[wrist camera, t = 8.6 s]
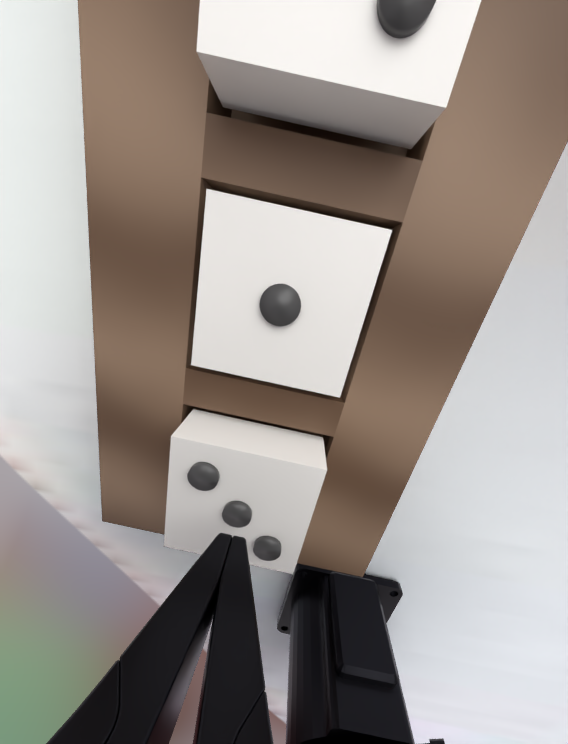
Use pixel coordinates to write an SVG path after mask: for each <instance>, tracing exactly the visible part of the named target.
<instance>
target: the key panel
mask: <svg viewBox="0 0 568 744" xmlns="http://www.w3.org/2000/svg"><path fill="white" fill-rule="evenodd" d="M199 6H200V0H78V14H79V35H80V56H81V78H82V99H83V120H84V141H85V163H86V184H87V205H88V226H89V248H90V269H91V290H92V311H93V333H94V354H95V375H96V396H97V418H98V439H99V460H100V481H101V503H102V521H104V522H109V523H113V524H118V525H123V526H127V527H132V528H136V529H141V530H146V531H150V532H155V533H160V534H164V533H165V518H166V503H167V488H168V473H169V458H170V443H171V435H172V434H173V433H174V432H175V431H176V429H177V428H178V427H179V426H180V425H181V423H182V422H183V421H184V420H185V419H186V417H187V416H188V415H189V414H190V413H191V411H192V410H193V409H196V410H200V411H205V412H209V413H214V414H218V415H223V416H228V417H232V418H237V419H241V420H246V421H251V422H255V423H260V424H264V425H269V426H274V427H278V428H283V429H287V430H292V431H297V432H301V433H306V434H310V435H315V436H320V437H323V440H324V448H325V456H326V464H327V472H326V475H325V478H324V481H323V484H322V487H321V491H320V494H319V497H318V500H317V503H316V506H315V509H314V512H313V515H312V518H311V521H310V524H309V527H308V530H307V533H306V536H305V539H304V542H303V545H302V548H301V551H300V554H299V558H298V561H297V563H299V564H304V565H309V566H313V567H318V568H323V569H327V570H332V571H337V572H341V573H346V574H351V575H355V576H360V577H363V576H364V573H365V571H366V569H367V567H368V565H369V563H370V561H371V559H372V556H373V554H374V552H375V550H376V548H377V546H378V544H379V541H380V539H381V537H382V535H383V533H384V531H385V529H386V527H387V524H388V522H389V520H390V518H391V516H392V514H393V512H394V510H395V507H396V505H397V503H398V501H399V499H400V497H401V495H402V493H403V490H404V488H405V486H406V484H407V482H408V480H409V478H410V476H411V473H412V471H413V469H414V467H415V465H416V463H417V461H418V459H419V456H420V454H421V452H422V450H423V448H424V446H425V444H426V441H427V439H428V437H429V435H430V433H431V431H432V429H433V427H434V424H435V422H436V420H437V418H438V416H439V414H440V412H441V410H442V407H443V405H444V403H445V401H446V399H447V397H448V395H449V393H450V390H451V388H452V386H453V384H454V382H455V380H456V378H457V376H458V373H459V371H460V369H461V367H462V365H463V363H464V361H465V359H466V356H467V354H468V352H469V350H470V348H471V346H472V344H473V341H474V339H475V337H476V335H477V333H478V331H479V329H480V327H481V324H482V322H483V320H484V318H485V316H486V314H487V312H488V310H489V307H490V305H491V303H492V301H493V299H494V297H495V295H496V293H497V290H498V288H499V286H500V284H501V282H502V280H503V278H504V276H505V273H506V271H507V269H508V267H509V265H510V263H511V261H512V259H513V256H514V254H515V252H516V250H517V248H518V246H519V244H520V242H521V239H522V237H523V235H524V233H525V231H526V229H527V227H528V224H529V222H530V220H531V218H532V216H533V214H534V212H535V210H536V207H537V205H538V203H539V201H540V199H541V197H542V195H543V193H544V190H545V188H546V186H547V184H548V182H549V180H550V178H551V176H552V173H553V171H554V169H555V167H556V165H557V163H558V161H559V159H560V156H561V154H562V152H563V150H564V148H565V146H566V144H567V142H568V0H481V3H480V6H479V9H478V12H477V15H476V18H475V21H474V24H473V27H472V30H471V34H470V37H469V40H468V43H467V46H466V49H465V52H464V55H463V58H462V61H461V64H460V67H459V70H458V73H457V76H456V79H455V82H454V85H453V88H452V91H451V94H450V97H449V101H448V104H447V107H446V109H445V110H444V111H443V112H442V113H441V114H440V116H439V117H438V118H437V119H436V120H435V122H434V123H433V124H432V125H431V126H430V127H429V129H428V130H427V131H426V132H425V133H424V135H423V136H422V137H421V138H420V139H419V140H418V142H417V143H416V144H415V145H414V146H413V148H412V149H407V148H403V147H398V146H394V145H389V144H385V143H380V142H376V141H372V140H367V139H363V138H358V137H354V136H349V135H345V134H340V133H336V132H331V131H327V130H322V129H318V128H314V127H309V126H305V125H300V124H296V123H291V122H287V121H282V120H278V119H273V118H269V117H265V116H260V115H256V114H251V113H247V112H242V111H238V110H233V109H229V108H224V107H223V106H222V104H221V102H220V100H219V98H218V96H217V94H216V92H215V90H214V87H213V85H212V83H211V81H210V79H209V77H208V75H207V73H206V71H205V68H204V66H203V64H202V62H201V60H200V58H199V56H198V54H197V52H196V51H197V36H198V21H199ZM207 189H210V190H214V191H219V192H223V193H228V194H232V195H237V196H241V197H246V198H250V199H255V200H259V201H264V202H268V203H273V204H277V205H282V206H286V207H291V208H295V209H300V210H304V211H309V212H313V213H318V214H322V215H327V216H331V217H336V218H340V219H345V220H349V221H354V222H358V223H363V224H367V225H372V226H376V227H381V228H385V229H390V230H392V233H391V236H390V239H389V242H388V245H387V249H386V252H385V255H384V258H383V261H382V265H381V268H380V271H379V274H378V277H377V281H376V284H375V287H374V290H373V293H372V297H371V300H370V303H369V306H368V309H367V313H366V316H365V319H364V322H363V325H362V329H361V332H360V335H359V338H358V342H357V345H356V348H355V351H354V354H353V358H352V361H351V364H350V367H349V370H348V374H347V377H346V380H345V383H344V386H343V390H342V393H341V396H340V398H339V397H335V396H330V395H325V394H321V393H316V392H312V391H307V390H303V389H298V388H293V387H289V386H284V385H280V384H275V383H271V382H266V381H261V380H257V379H252V378H248V377H243V376H239V375H234V374H229V373H225V372H220V371H216V370H211V369H207V368H202V367H197V366H193V365H191V360H192V349H193V337H194V326H195V315H196V303H197V292H198V281H199V269H200V258H201V246H202V235H203V224H204V212H205V201H206V190H207Z"/></svg>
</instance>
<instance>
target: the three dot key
mask: <svg viewBox="0 0 568 744" xmlns="http://www.w3.org/2000/svg"><path fill="white" fill-rule="evenodd" d="M326 472H327V464H326V456H325V448H324V440H323V437H320V436H315V435H310V434H306V433H301V432H297V431H292V430H287V429H283V428H278V427H274V426H269V425H264V424H260V423H255V422H251V421H246V420H241V419H237V418H232V417H228V416H223V415H218V414H214V413H209V412H205V411H200V410H196V409H193V410H192V411H191V413H190V414H189V415H188V416H187V417H186V419H185V420H184V421H183V422H182V423H181V425H180V426H179V427H178V428H177V429H176V431H175V432H174V433H173V434H172V435H171V443H170V458H169V473H168V488H167V503H166V518H165V533H164V547H168V548H173V549H178V550H182V551H187V552H192V553H196V554H201V555H202V554H203V552H204V551H205V550H206V549H207V547H208V546H209V545H210V544H211V542H212V541H213V540H214V539H215V537H216V536H217V535H218V534H219V533H225V534H230V535H232V537H233V536H239V537H244V538H245V539H246V543H247V551H248V559H249V565H252V566H257V567H262V568H266V569H271V570H276V571H280V572H285V573H290V574H293V573H294V570H295V567H296V564H297V561H298V558H299V554H300V551H301V548H302V545H303V542H304V539H305V536H306V533H307V530H308V527H309V524H310V521H311V518H312V515H313V512H314V509H315V506H316V503H317V500H318V497H319V494H320V491H321V487H322V484H323V481H324V478H325V475H326Z"/></svg>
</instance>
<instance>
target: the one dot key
mask: <svg viewBox="0 0 568 744" xmlns="http://www.w3.org/2000/svg"><path fill="white" fill-rule="evenodd" d="M391 233H392V230H390V229H385V228H381V227H376V226H372V225H367V224H363V223H358V222H354V221H349V220H345V219H340V218H336V217H331V216H327V215H322V214H318V213H313V212H309V211H304V210H300V209H295V208H291V207H286V206H282V205H277V204H273V203H268V202H264V201H259V200H255V199H250V198H246V197H241V196H237V195H232V194H228V193H223V192H219V191H214V190H210V189H207V190H206V201H205V212H204V224H203V235H202V246H201V258H200V269H199V281H198V292H197V303H196V315H195V326H194V337H193V349H192V360H191V365H193V366H197V367H202V368H207V369H211V370H216V371H220V372H225V373H229V374H234V375H239V376H243V377H248V378H252V379H257V380H261V381H266V382H271V383H275V384H280V385H284V386H289V387H293V388H298V389H303V390H307V391H312V392H316V393H321V394H325V395H330V396H335V397H339V398H340V396H341V393H342V390H343V386H344V383H345V380H346V377H347V374H348V370H349V367H350V364H351V361H352V358H353V354H354V351H355V348H356V345H357V342H358V338H359V335H360V332H361V329H362V325H363V322H364V319H365V316H366V313H367V309H368V306H369V303H370V300H371V297H372V293H373V290H374V287H375V284H376V281H377V277H378V274H379V271H380V268H381V265H382V261H383V258H384V255H385V252H386V249H387V245H388V242H389V239H390V236H391Z"/></svg>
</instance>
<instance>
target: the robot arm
mask: <svg viewBox="0 0 568 744" xmlns="http://www.w3.org/2000/svg"><path fill="white" fill-rule="evenodd" d="M402 594H403V593H402V589H401V586H400V584H399V583H398V582H396V581H392V580H387V579H383V578H378V577H373V576H369V575H364V576H363V577H360V576H355V575H351V574H346V573H341V572H337V571H332V570H327V569H323V568H318V567H313V566H309V565H304V564H299V563H297V564H296V567H295V570H294V573H293V575H292V578H291V581H290V584H289V587H288V590H287V593H286V596H285V599H284V602H283V605H282V608H281V611H280V614H279V617H278V623H277V629H278V631H280V632H282V633H286V634H290V646H289V672H288V699H287V726H286V744H415V743H414V739H413V734H412V730H411V726H410V722H409V718H408V713H407V709H406V705H405V701H404V697H403V693H402V688H401V684H400V680H399V675H398V670H397V666H396V662H395V658H394V654H393V650H392V645H391V641H390V637H389V633H388V629H387V625H386V623H387V621H388V620H389V618H390V616H391V614H392V613H393V611H394V609H395V607H396V606H397V604H398V602H399V600H400V599H401V597H402ZM212 619H213V621H212ZM211 622H212V626H211V632H210V638H209V644H208V650H207V657H206V663H205V669H204V676H203V683H202V689H201V695H200V702H199V707H198V714H197V721H196V727H195V733H194V740H193V744H273V738H272V731H271V725H270V718H269V711H268V703H267V695H266V692H264V690H265V681H264V674H263V666H262V658H261V651H260V643H259V635H258V628H257V620H256V612H255V605H254V597H253V589H252V582H251V574H250V566H249V559H248V551H247V543H246V539H245V538H244V537H239V536H233V537H232V535H230V534H225V533H219V534H218V535H217V536H216V537H215V539H214V540H213V541H212V542H211V544H210V545H209V546H208V547H207V549H206V550H205V551H204V552H203V554H202V555H201V556H200V557H199V559H198V560H197V561H196V562H195V564H194V565H193V566H192V567H191V569H190V570H189V571H188V572H187V574H186V575H185V576H184V577H183V579H182V580H181V581H180V582H179V584H178V585H177V586H176V587H175V589H174V590H173V591H172V592H171V594H170V595H169V596H168V597H167V599H166V600H165V601H164V602H163V604H162V605H161V606H160V607H159V609H158V610H157V611H156V613H155V614H154V615H153V616H152V618H151V619H150V620H149V621H148V622H147V624H146V625H145V626H144V627H143V629H142V630H141V631H140V632H139V634H138V635H137V636H136V637H135V639H134V640H133V641H132V643H131V644H130V645H129V646H128V647H127V649H126V650H125V651H124V653H123V654H122V655H121V657H120V661H119V660H118V661H116V662H115V664H114V665H113V666H112V667H111V668H110V670H109V671H108V672H107V674H106V675H105V676H104V677H103V679H102V680H101V681H100V682H99V683H98V685H97V686H96V687H95V688H94V689H93V691H92V692H91V693H90V694H89V696H88V697H87V698H86V699H85V700H84V701H83V703H82V704H81V705H80V706H79V707H78V709H77V710H76V711H75V712H74V713H73V714H72V716H71V717H70V718H69V719H68V720H67V721H66V722H65V723H64V724H63V726H62V727H61V728H60V729H59V730H58V731H57V732H56V733H55V735H54V736H53V737H52V738H51V739H50V740H49V741H48V742H47V743H46V744H169V741H170V738H171V736H172V733H173V730H174V727H175V725H176V722H177V719H178V716H179V713H180V711H181V708H182V705H183V702H184V699H185V696H186V694H187V690H188V688H189V685H190V682H191V680H192V677H193V673H194V671H195V668H196V665H197V663H198V660H199V657H200V654H201V651H202V648H203V646H204V643H205V640H206V637H207V634H208V631H209V628H210V625H211ZM429 740H430V743H425V744H445V742H444V739H429Z"/></svg>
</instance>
